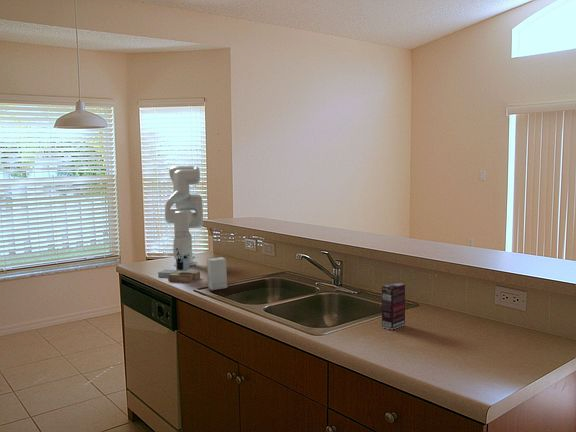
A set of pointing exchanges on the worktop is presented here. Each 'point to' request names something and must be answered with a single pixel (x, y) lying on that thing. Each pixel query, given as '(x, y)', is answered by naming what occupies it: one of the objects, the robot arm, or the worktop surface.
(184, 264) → the blue block
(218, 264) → the skincare box
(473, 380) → the worktop surface
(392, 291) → the supplement box
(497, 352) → the worktop surface
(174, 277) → the walnut slab
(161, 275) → the slate coaster
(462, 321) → the worktop surface
